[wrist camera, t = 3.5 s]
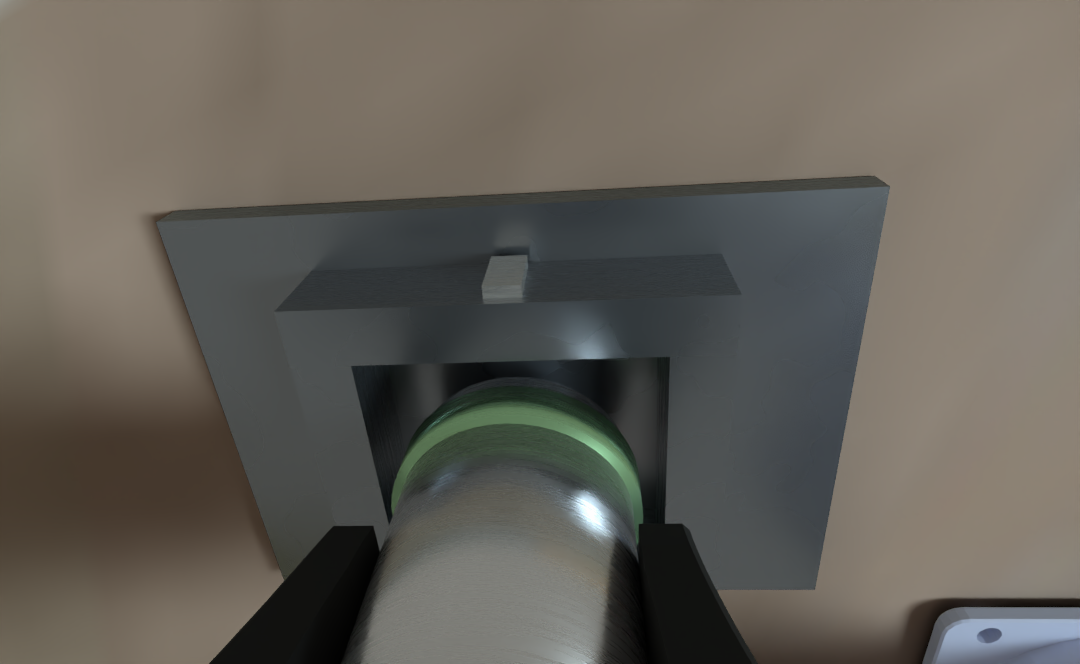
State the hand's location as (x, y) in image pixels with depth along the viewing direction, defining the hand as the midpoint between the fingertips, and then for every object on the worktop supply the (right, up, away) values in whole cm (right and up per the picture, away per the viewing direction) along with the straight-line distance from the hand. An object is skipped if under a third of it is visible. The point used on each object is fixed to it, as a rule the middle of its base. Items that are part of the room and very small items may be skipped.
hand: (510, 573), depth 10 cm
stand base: (0, +2, +4) cm, 4 cm away
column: (0, +1, +2) cm, 2 cm away
